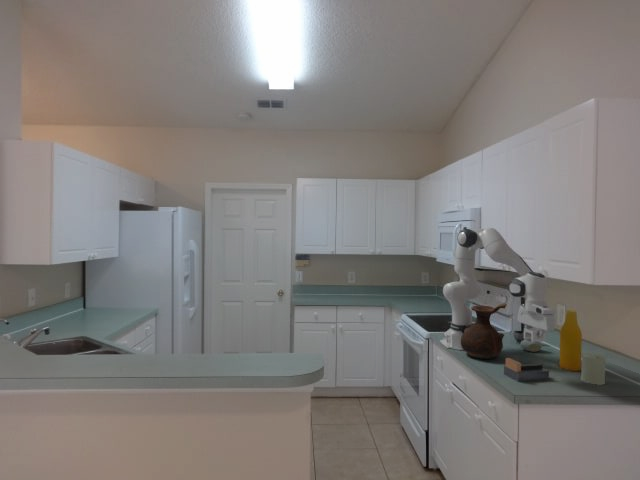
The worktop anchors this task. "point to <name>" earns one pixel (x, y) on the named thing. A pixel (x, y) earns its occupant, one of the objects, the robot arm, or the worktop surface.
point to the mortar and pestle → (519, 336)
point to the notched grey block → (533, 334)
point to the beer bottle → (570, 343)
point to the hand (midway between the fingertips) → (534, 336)
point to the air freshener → (530, 345)
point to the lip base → (525, 371)
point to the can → (593, 369)
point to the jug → (483, 334)
